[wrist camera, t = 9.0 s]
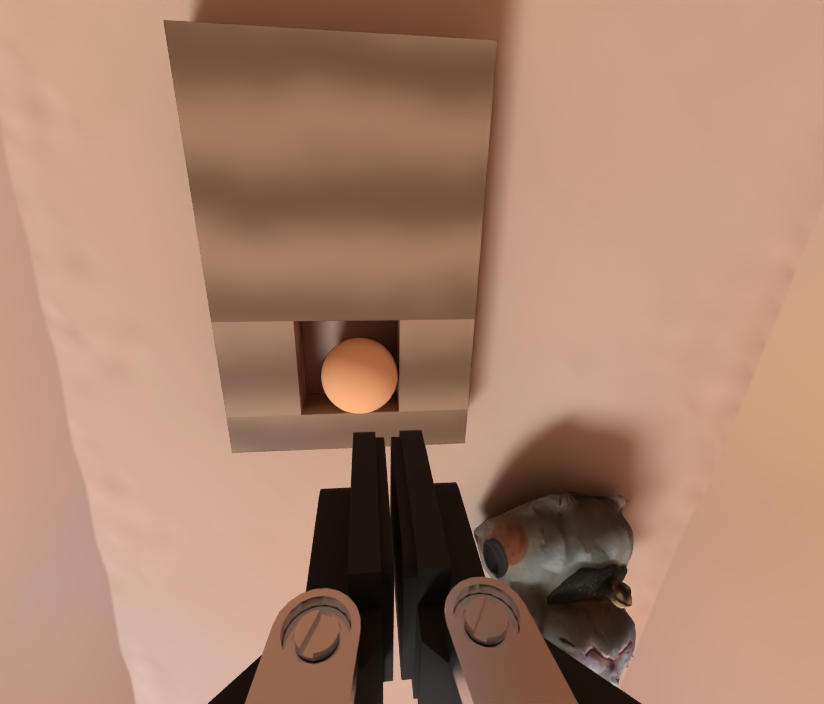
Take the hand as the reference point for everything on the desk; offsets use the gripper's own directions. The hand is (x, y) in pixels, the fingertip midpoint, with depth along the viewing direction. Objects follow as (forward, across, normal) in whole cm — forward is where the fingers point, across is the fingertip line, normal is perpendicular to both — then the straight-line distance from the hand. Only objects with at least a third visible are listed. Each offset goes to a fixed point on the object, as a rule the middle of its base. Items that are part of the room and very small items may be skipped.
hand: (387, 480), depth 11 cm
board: (+20, +2, -1) cm, 20 cm away
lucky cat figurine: (+20, -16, +23) cm, 34 cm away
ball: (+17, +1, +5) cm, 18 cm away
